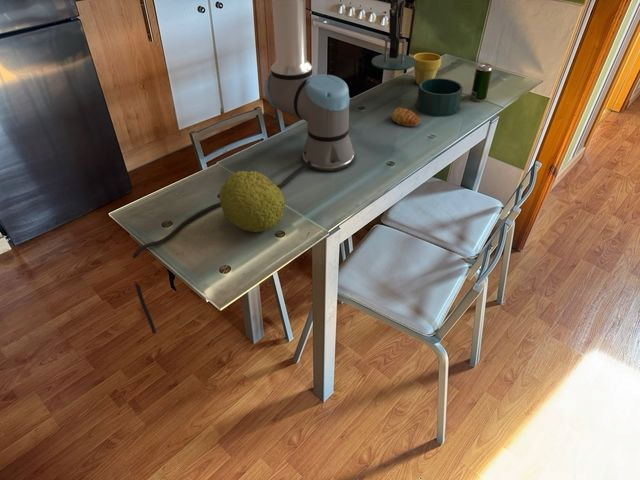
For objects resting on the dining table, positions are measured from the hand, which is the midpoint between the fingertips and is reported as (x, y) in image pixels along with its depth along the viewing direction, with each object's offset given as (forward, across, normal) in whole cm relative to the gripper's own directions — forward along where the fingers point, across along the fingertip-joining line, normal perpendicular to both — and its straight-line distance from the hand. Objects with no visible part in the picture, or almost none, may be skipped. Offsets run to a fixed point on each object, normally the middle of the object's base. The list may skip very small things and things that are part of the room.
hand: (393, 56), depth 164 cm
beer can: (+14, +6, -31) cm, 34 cm away
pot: (+14, -5, -18) cm, 23 cm away
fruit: (+14, -85, +15) cm, 88 cm away
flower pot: (+14, +16, -9) cm, 24 cm away
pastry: (+14, -19, -9) cm, 26 cm away
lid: (+2, 0, 0) cm, 2 cm away
